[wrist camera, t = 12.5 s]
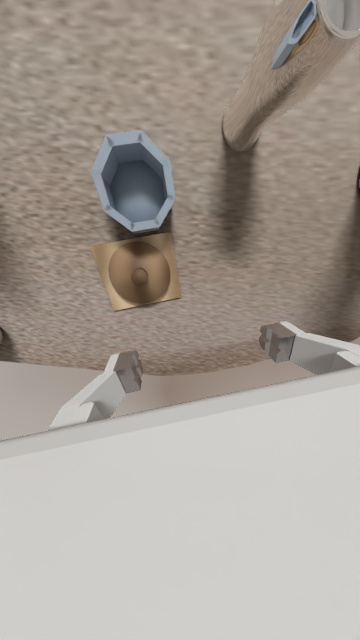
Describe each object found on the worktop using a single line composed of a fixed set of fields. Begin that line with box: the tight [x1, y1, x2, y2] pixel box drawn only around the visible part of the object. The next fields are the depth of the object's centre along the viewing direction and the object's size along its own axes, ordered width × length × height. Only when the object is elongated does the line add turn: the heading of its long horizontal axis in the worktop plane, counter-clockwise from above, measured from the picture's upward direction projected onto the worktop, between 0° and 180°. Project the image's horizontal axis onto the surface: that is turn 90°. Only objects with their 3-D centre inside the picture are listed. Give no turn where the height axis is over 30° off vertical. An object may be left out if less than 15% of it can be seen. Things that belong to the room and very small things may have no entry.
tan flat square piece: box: [89, 232, 181, 311], centre depth 29 cm, size 14×12×1 cm
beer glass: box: [223, 0, 360, 151], centre depth 16 cm, size 7×7×15 cm
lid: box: [108, 241, 170, 304], centre depth 27 cm, size 11×11×4 cm
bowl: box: [91, 130, 175, 234], centre depth 22 cm, size 10×10×5 cm
